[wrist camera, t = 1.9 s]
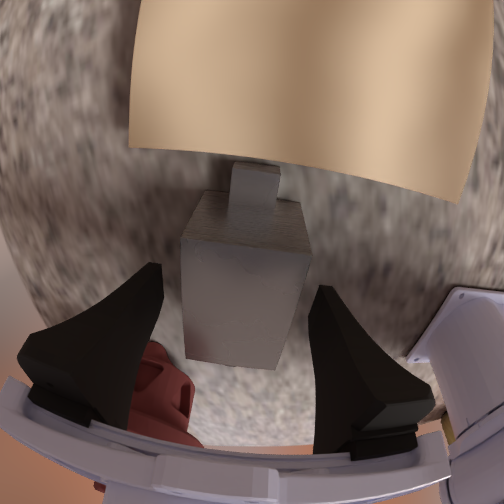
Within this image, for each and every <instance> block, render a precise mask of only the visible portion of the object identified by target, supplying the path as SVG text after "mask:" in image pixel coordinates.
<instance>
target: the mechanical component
mask: <svg viewBox="0 0 504 504" xmlns="http://www.w3.org/2000/svg"><path fill="white" fill-rule="evenodd" d="M194 393H195V386H194V384H193V382H192V381H191V379H190V378H189V377H188V376H187V375H186V374H184V373H183V372H181V371H180V370H179V369H177V368H176V367H175V366H174V365H173V364H172V363H171V361H170V360H169V358H168V356H167V354H166V351H165V349H164V347H163V346H162V345H161V344H159V343H156V342H148V343H147V346H146V348H145V351H144V353H143V356H142V359H141V362H140V366H139V370H138V373H137V377H136V382H135V386H134V391H133V395H132V401H131V406H130V412H129V419H128V426H127V431H128V432H132V433H135V434H139V435H143V436H147V437H151V438H155V439H159V440H163V441H168V442H173V443H178V444H183V445H188V446H194V447H200V448H204V447H203V445H202V444H201V443H200V442H199V441H198V440H197V439H196V438H195V437H194V436H192V435H191V434H189V433H188V432H187V429H188V424H189V418H190V413H191V408H192V403H193V398H194ZM94 488H95V489H96V490H98V491H100V492H103V493H105V490H106V485H104V484H101V483H99V482H96V481H95V482H94Z"/></svg>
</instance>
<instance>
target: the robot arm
mask: <svg viewBox="0 0 504 504" xmlns="http://www.w3.org/2000/svg"><path fill="white" fill-rule="evenodd" d="M163 300H164V290H163V278H162V266H161V264H158V263H152V262H149V263H147V264H146V265H145V266H144V267H142V268H141V269H140V270H139V271H138V272H137V273H135V274H134V275H133V276H132V277H131V278H130V279H128V280H127V281H126V282H125V283H124V284H122V285H121V286H120V287H119V288H118V289H116V290H115V291H114V292H112V293H111V294H110V295H108V296H107V297H106V298H104V299H103V300H101V301H100V302H99V303H97V304H95V305H94V306H92V307H91V308H89V309H87V310H86V311H84V312H82V313H80V314H78V315H76V316H75V317H73V318H71V319H69V320H67V321H64V322H62V323H60V324H57V325H55V326H53V327H50V328H47V329H44V330H41V331H38V332H35V333H32V334H30V335H29V337H28V338H27V340H26V342H25V343H24V345H23V347H22V348H21V350H20V351H19V353H18V355H17V360H18V363H19V365H20V366H21V368H22V369H23V370H24V372H25V373H26V374H27V376H28V377H29V378H30V380H31V381H32V382H33V383H34V384H33V386H32V388H30V387H29V386H27V385H26V384H24V383H22V382H20V381H18V380H17V379H15V378H13V377H11V376H8V378H7V380H6V382H5V384H4V386H3V388H2V390H1V392H0V428H1V429H3V430H4V431H5V432H6V433H8V434H9V435H10V436H12V437H13V438H14V439H16V440H17V441H19V442H20V443H22V444H23V445H25V446H27V447H28V448H30V449H32V450H33V451H35V452H37V453H39V454H40V455H42V456H44V457H46V458H48V459H49V460H51V461H53V462H56V463H57V464H59V465H61V466H63V467H65V468H67V469H69V470H71V471H73V472H75V473H78V474H80V475H82V476H84V477H87V478H89V479H91V480H94V481H96V482H99V483H101V484H104V485H106V490H105V494H104V499H103V503H102V504H372V503H376V502H381V501H385V500H388V499H392V498H396V497H399V496H403V495H406V494H410V493H413V492H416V491H419V490H421V489H424V488H426V487H429V486H431V485H433V484H436V483H438V482H439V494H440V499H441V502H442V504H504V292H499V291H490V290H482V289H473V288H464V287H455V288H453V289H452V290H451V292H450V293H449V295H448V297H447V298H446V300H445V302H444V303H443V305H442V306H441V308H440V310H439V311H438V313H437V314H436V316H435V317H434V319H433V320H432V322H431V323H430V325H429V326H428V328H427V329H426V331H425V332H424V333H423V335H422V336H421V338H420V339H419V340H418V342H417V343H416V345H415V346H414V347H413V349H412V350H411V351H410V353H409V354H408V355H407V357H406V362H407V363H422V362H430V363H431V365H432V368H433V371H434V373H435V376H436V379H437V382H438V385H439V387H440V390H441V393H442V396H443V399H444V402H445V406H446V409H447V412H448V415H449V419H450V422H451V426H452V429H453V433H454V436H455V440H456V441H455V442H453V443H452V444H450V445H449V446H448V449H449V453H450V455H449V456H447V452H446V448H445V444H444V440H443V436H442V432H441V431H436V432H432V433H428V434H424V435H421V436H419V437H417V438H416V434H415V432H416V431H418V425H417V423H418V422H419V421H420V420H421V419H423V418H424V417H425V416H426V415H427V414H429V413H430V412H431V411H432V410H433V408H434V406H435V399H434V396H433V393H432V390H431V387H430V385H429V384H427V383H425V382H424V381H422V380H420V379H419V378H417V377H416V376H414V375H413V374H411V373H410V372H408V371H407V370H406V369H404V368H403V367H402V366H400V365H399V364H398V363H397V362H395V361H394V360H393V359H392V358H391V357H390V356H389V355H388V354H386V353H385V352H384V351H383V350H382V349H381V348H380V347H379V346H378V345H377V344H376V343H375V342H374V341H373V340H372V338H371V337H370V336H369V335H368V334H367V333H366V332H365V330H364V329H363V328H362V327H361V325H360V324H359V323H358V322H357V320H356V319H355V318H354V316H353V315H352V314H351V312H350V311H349V310H348V308H347V307H346V305H345V304H344V303H343V301H342V300H341V298H340V297H339V295H338V294H337V292H336V291H335V290H334V288H333V287H332V286H325V285H319V288H318V291H317V293H316V296H315V299H314V302H313V305H312V307H311V310H310V313H309V316H308V329H309V341H310V347H311V354H312V361H313V367H314V374H315V387H316V414H315V435H314V446H313V455H272V454H271V455H270V454H253V453H240V452H229V451H221V450H213V449H207V448H200V447H194V446H188V445H183V444H178V443H173V442H168V441H163V440H159V439H155V438H151V437H147V436H143V435H139V434H135V433H132V432H128V431H127V426H128V419H129V412H130V406H131V401H132V395H133V391H134V386H135V382H136V377H137V373H138V370H139V366H140V362H141V359H142V356H143V353H144V351H145V348H146V346H147V343H148V341H149V339H150V336H151V334H152V331H153V329H154V327H155V324H156V322H157V319H158V317H159V314H160V311H161V307H162V303H163Z"/></svg>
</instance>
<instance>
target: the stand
mask: <svg viewBox="0 0 504 504" xmlns="http://www.w3.org/2000/svg"><path fill="white" fill-rule="evenodd" d="M493 34H494V11H493V0H141V6H140V11H139V17H138V23H137V30H136V37H135V45H134V54H133V63H132V74H131V88H130V107H129V148H154V149H172V150H186V151H199V152H209V153H219V154H229V155H237V156H245V157H253V158H260V159H267V160H274V161H280V162H287V163H293V164H298V165H304V166H310V167H315V168H320V169H325V170H330V171H335V172H340V173H345V174H349V175H354V176H358V177H363V178H367V179H371V180H375V181H379V182H383V183H387V184H391V185H395V186H399V187H402V188H406V189H409V190H413V191H417V192H420V193H423V194H427V195H430V196H433V197H437V198H440V199H443V200H446V201H449V202H452V203H455V204H458V203H459V200H460V197H461V194H462V192H463V189H464V186H465V183H466V180H467V177H468V174H469V171H470V167H471V164H472V161H473V157H474V154H475V150H476V146H477V143H478V139H479V135H480V130H481V126H482V122H483V117H484V112H485V107H486V101H487V95H488V89H489V82H490V74H491V65H492V54H493Z"/></svg>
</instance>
